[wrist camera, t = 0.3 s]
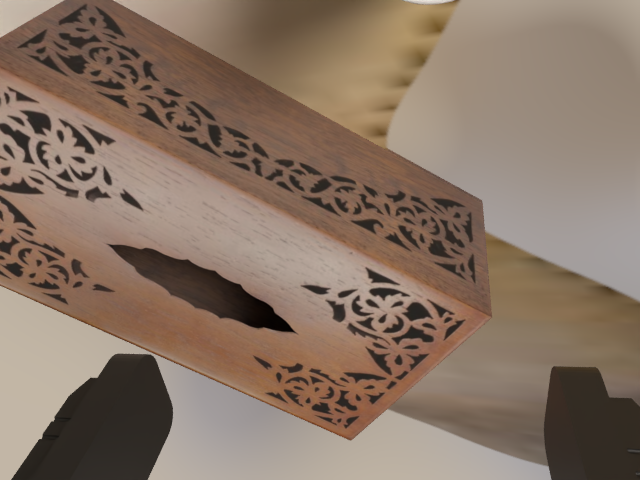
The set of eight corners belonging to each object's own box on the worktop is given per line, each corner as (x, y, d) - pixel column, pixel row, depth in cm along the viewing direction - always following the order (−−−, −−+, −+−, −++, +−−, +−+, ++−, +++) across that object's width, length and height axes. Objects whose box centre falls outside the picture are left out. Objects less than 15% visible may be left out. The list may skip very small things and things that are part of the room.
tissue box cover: (482, 200, 35) (492, 317, 27) (367, 326, 44) (350, 440, 36) (90, -15, 31) (-27, 53, 23) (52, 173, 40) (-41, 267, 32)
